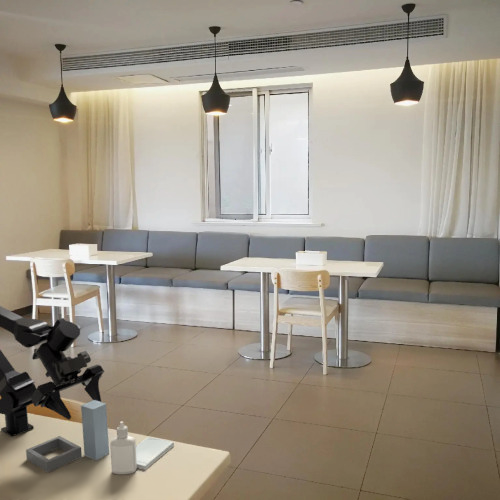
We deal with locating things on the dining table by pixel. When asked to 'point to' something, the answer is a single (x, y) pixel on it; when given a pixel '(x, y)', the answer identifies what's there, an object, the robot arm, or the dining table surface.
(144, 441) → the hard drive
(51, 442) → the frame
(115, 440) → the eye dropper bottle
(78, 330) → the robot arm
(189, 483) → the dining table surface
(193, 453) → the dining table surface
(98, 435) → the block
